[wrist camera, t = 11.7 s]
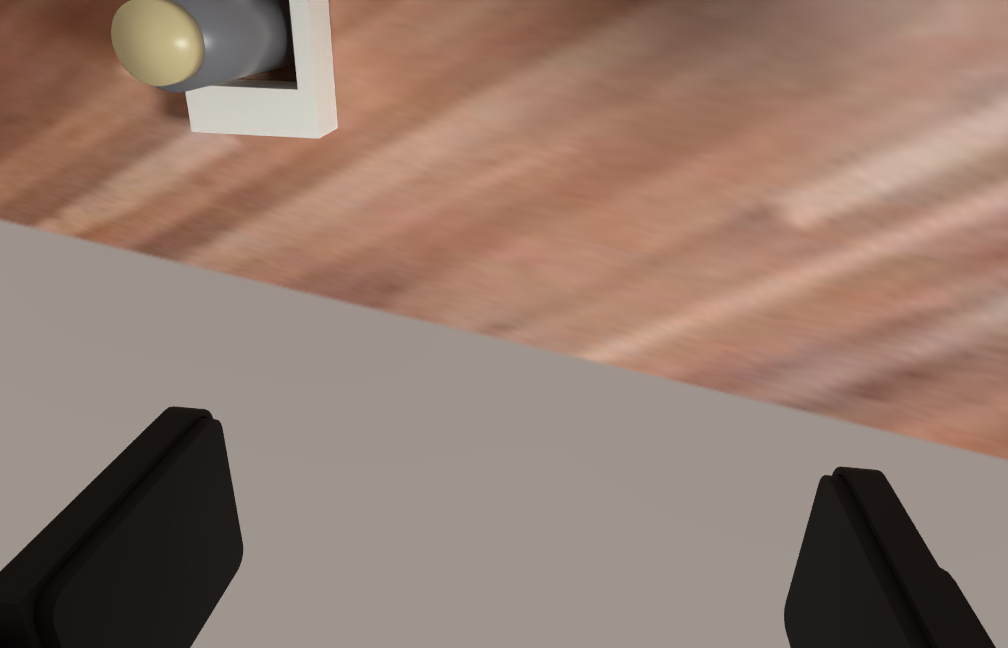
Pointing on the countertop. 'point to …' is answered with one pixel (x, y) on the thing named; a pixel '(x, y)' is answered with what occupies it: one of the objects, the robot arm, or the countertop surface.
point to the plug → (201, 40)
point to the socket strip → (278, 89)
